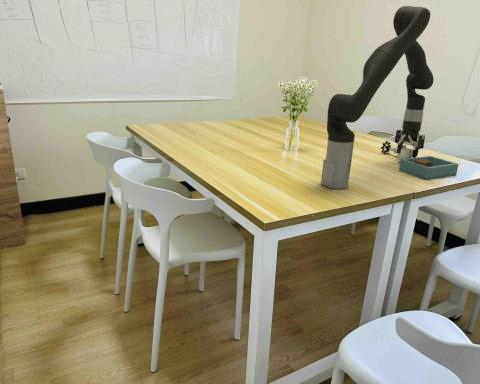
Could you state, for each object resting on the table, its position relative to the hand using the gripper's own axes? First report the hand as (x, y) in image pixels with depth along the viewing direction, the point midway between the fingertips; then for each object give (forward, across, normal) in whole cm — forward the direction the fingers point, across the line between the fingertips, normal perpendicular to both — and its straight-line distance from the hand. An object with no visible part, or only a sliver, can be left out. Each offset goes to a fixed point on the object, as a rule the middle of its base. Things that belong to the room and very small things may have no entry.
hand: (406, 155), depth 176 cm
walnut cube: (+3, +14, -6) cm, 16 cm away
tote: (+4, +14, -2) cm, 15 cm away
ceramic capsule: (+4, 0, 0) cm, 4 cm away
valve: (+5, -13, +7) cm, 15 cm away
